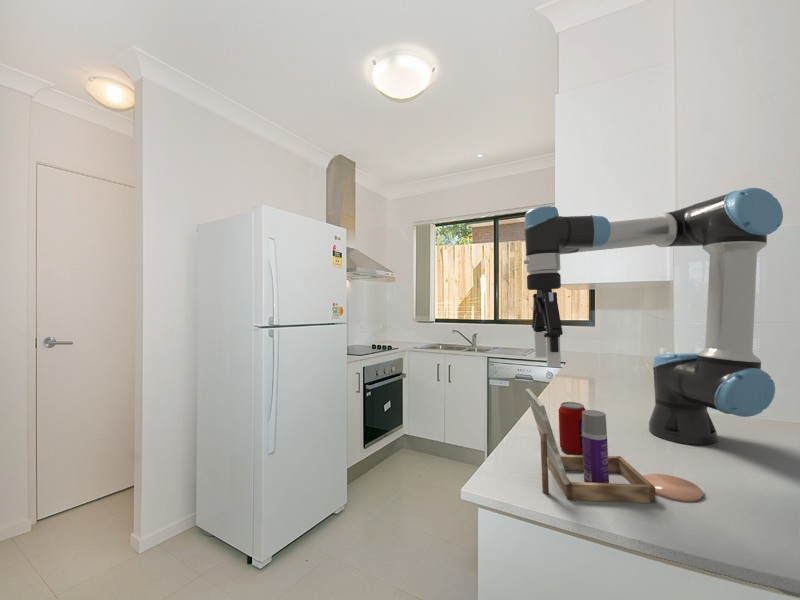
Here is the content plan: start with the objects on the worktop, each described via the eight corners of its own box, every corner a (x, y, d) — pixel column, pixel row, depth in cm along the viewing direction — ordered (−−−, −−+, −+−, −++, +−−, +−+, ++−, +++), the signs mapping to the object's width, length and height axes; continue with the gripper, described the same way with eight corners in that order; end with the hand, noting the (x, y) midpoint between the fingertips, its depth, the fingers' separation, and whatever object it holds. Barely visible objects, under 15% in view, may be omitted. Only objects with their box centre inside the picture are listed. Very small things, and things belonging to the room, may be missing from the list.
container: (608, 491, 73) (605, 417, 73) (583, 485, 76) (580, 414, 76) (609, 481, 77) (606, 411, 77) (585, 476, 80) (582, 408, 80)
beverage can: (592, 457, 89) (590, 408, 89) (563, 455, 90) (561, 408, 91) (584, 446, 96) (582, 401, 96) (557, 445, 97) (555, 400, 97)
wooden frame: (621, 469, 82) (617, 388, 82) (655, 503, 68) (651, 405, 69) (528, 466, 85) (525, 388, 85) (543, 498, 71) (540, 405, 71)
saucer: (682, 477, 78) (682, 474, 78) (716, 502, 68) (715, 499, 68) (632, 475, 79) (632, 473, 79) (658, 500, 69) (658, 497, 69)
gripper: (519, 277, 99) (522, 354, 99) (537, 269, 74) (541, 371, 74) (547, 276, 98) (550, 354, 97) (576, 267, 73) (580, 371, 73)
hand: (546, 361), depth 86 cm, fingers open, 13 cm apart
